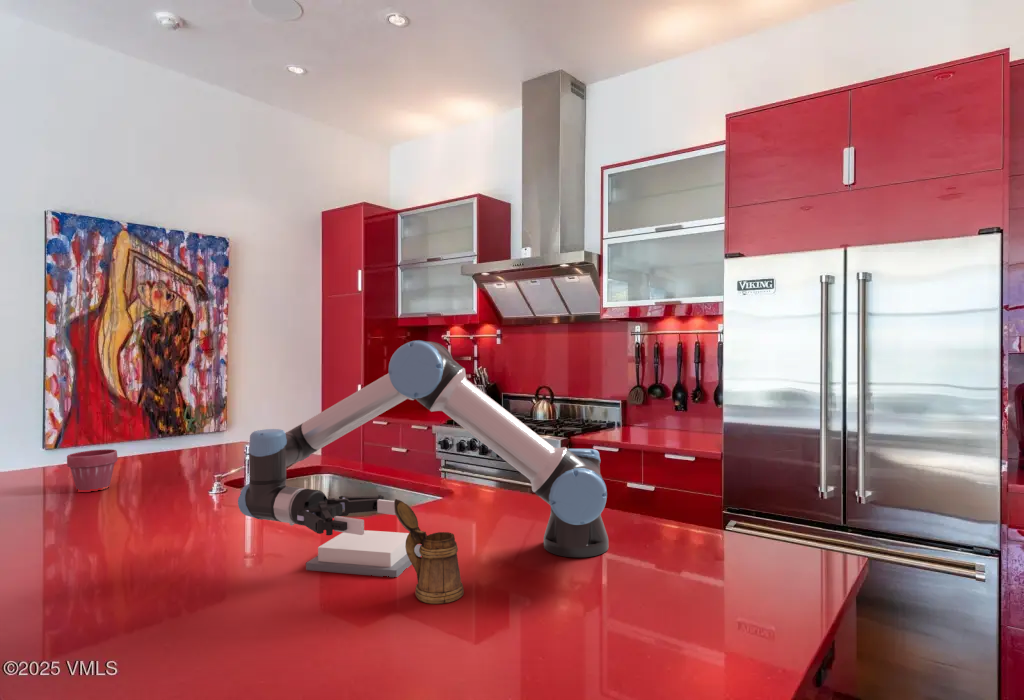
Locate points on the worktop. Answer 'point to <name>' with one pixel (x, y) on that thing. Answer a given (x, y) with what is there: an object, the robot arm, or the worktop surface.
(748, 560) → the worktop surface
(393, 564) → the plate
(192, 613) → the worktop surface
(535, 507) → the worktop surface
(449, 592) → the wooden mug
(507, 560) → the worktop surface
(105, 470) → the plant pot
